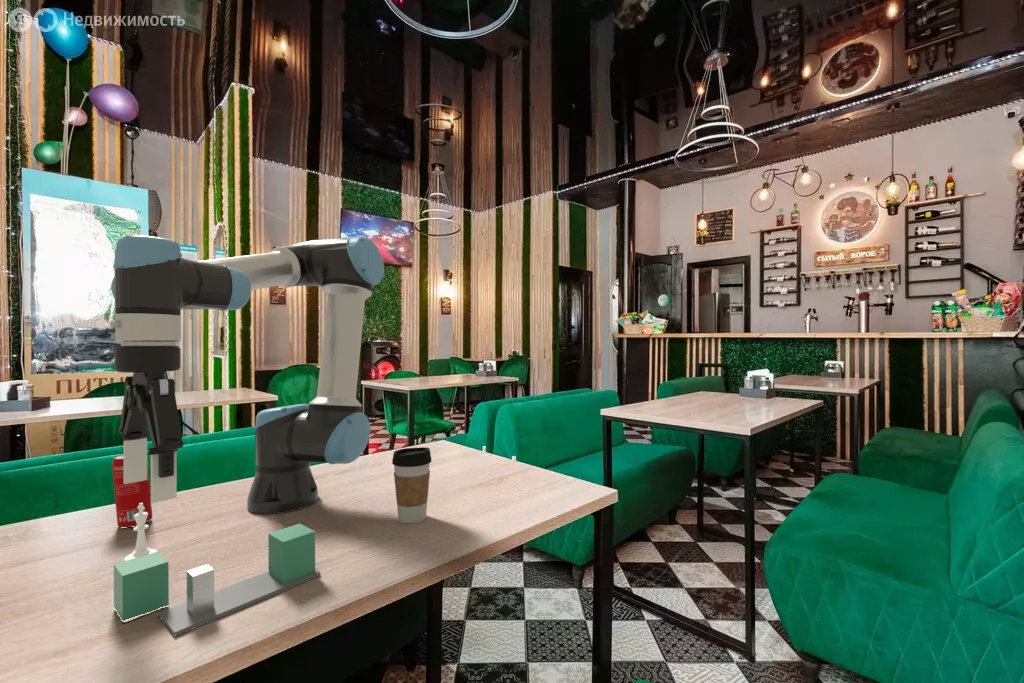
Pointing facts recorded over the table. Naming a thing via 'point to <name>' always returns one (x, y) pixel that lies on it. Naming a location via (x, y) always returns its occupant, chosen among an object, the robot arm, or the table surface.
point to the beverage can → (129, 495)
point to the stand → (257, 579)
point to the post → (200, 589)
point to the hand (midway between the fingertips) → (148, 490)
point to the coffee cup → (412, 483)
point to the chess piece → (140, 535)
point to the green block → (141, 585)
